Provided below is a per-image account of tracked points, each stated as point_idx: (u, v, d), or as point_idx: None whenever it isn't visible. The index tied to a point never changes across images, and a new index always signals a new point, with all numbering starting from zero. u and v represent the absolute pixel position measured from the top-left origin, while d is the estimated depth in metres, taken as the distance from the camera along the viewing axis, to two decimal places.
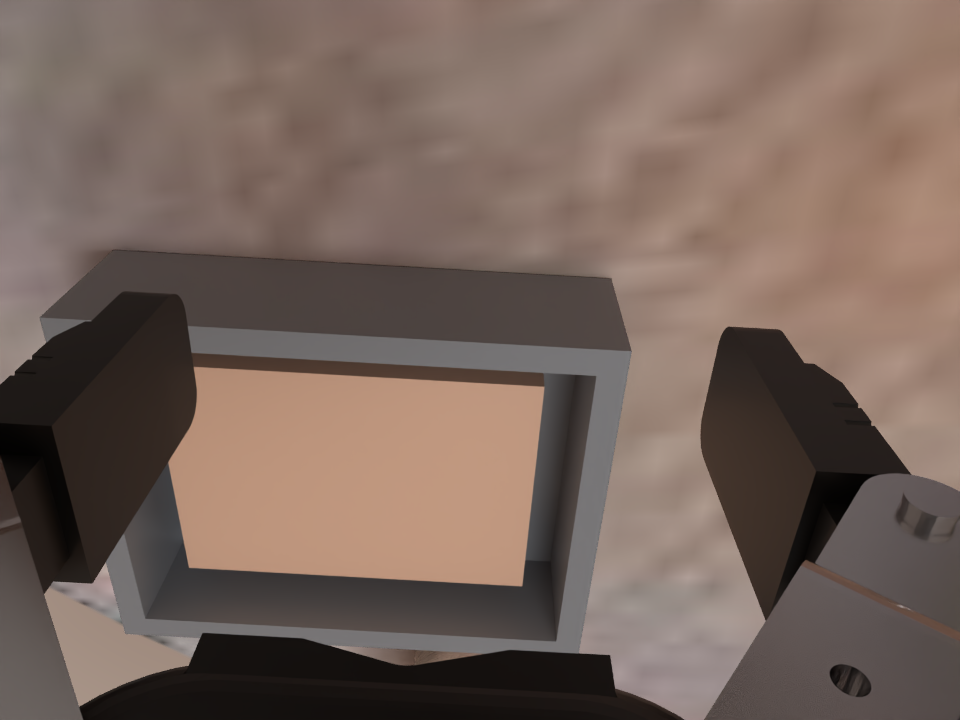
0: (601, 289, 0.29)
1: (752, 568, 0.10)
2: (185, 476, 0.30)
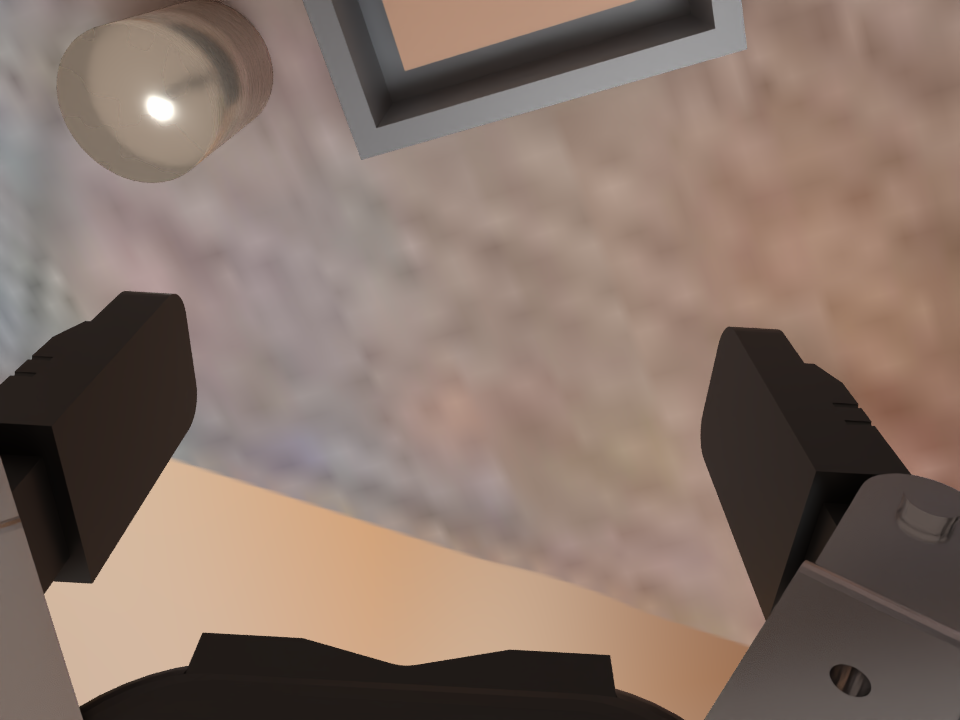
0: None
1: (752, 568, 0.10)
2: None
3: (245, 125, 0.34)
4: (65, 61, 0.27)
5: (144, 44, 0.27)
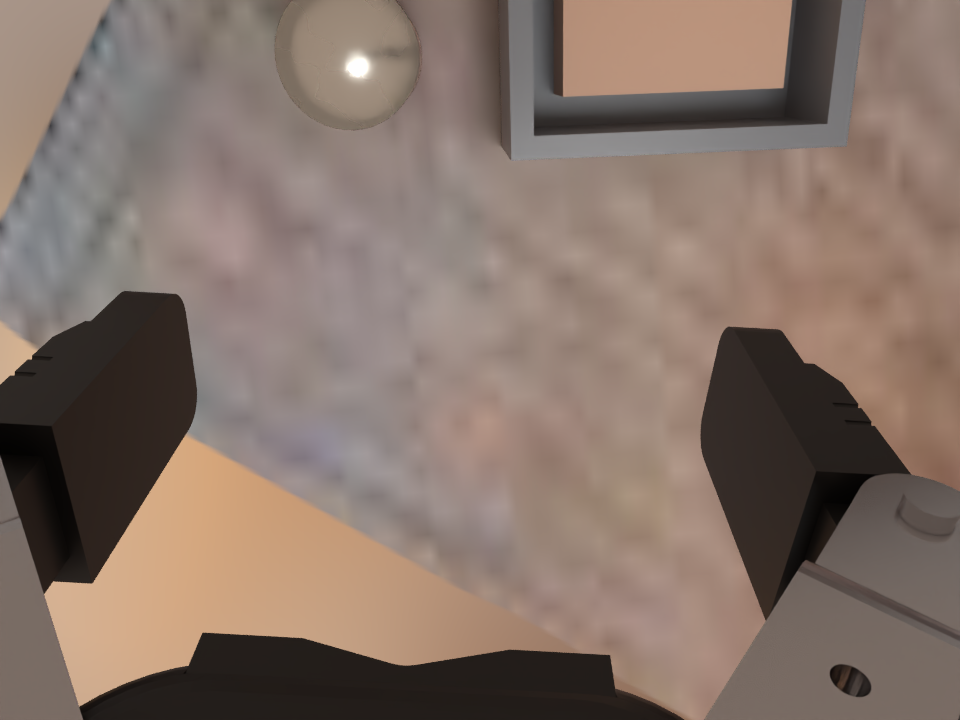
0: None
1: (752, 568, 0.10)
2: None
3: None
4: None
5: (378, 3, 0.29)
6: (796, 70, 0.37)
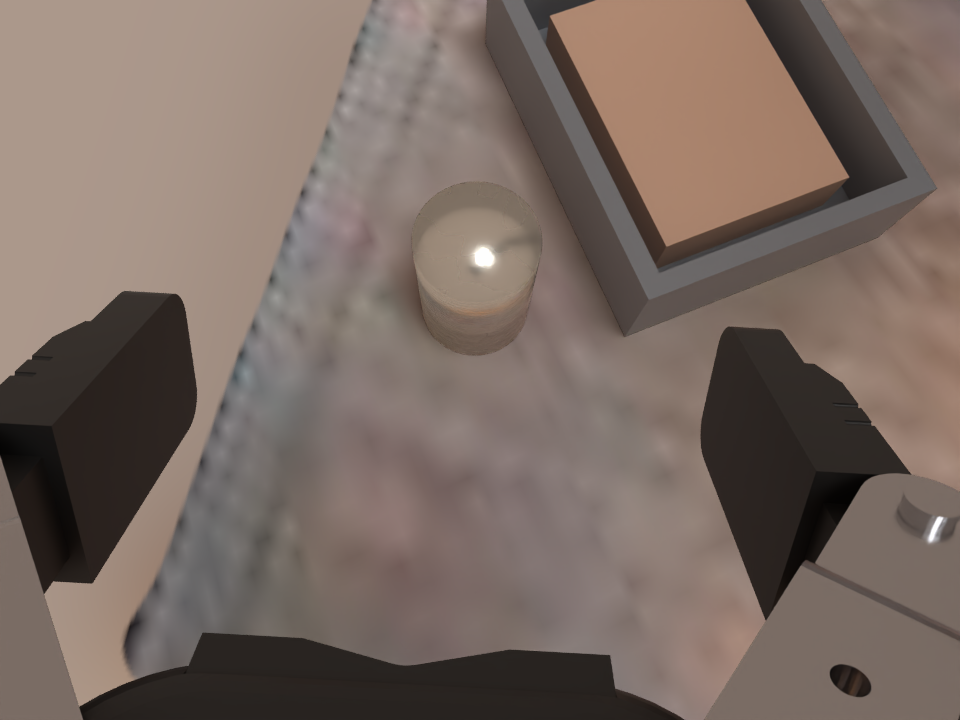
0: None
1: (752, 568, 0.10)
2: None
3: (516, 327, 0.38)
4: (423, 211, 0.33)
5: (490, 193, 0.33)
6: None
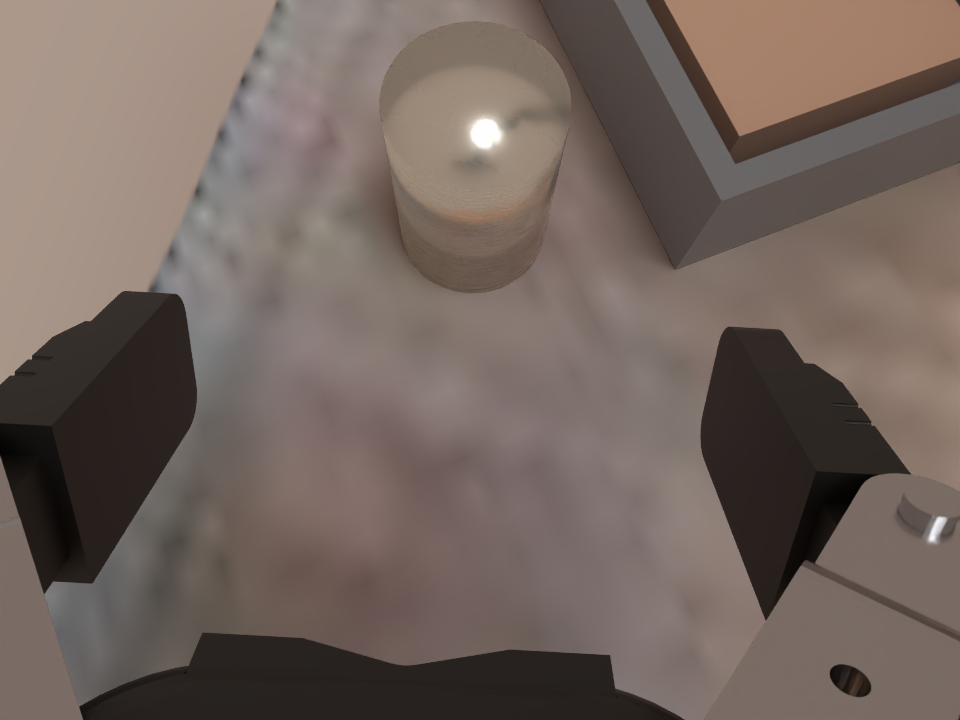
0: None
1: (752, 568, 0.10)
2: None
3: (529, 251, 0.28)
4: (397, 62, 0.23)
5: (496, 38, 0.23)
6: None
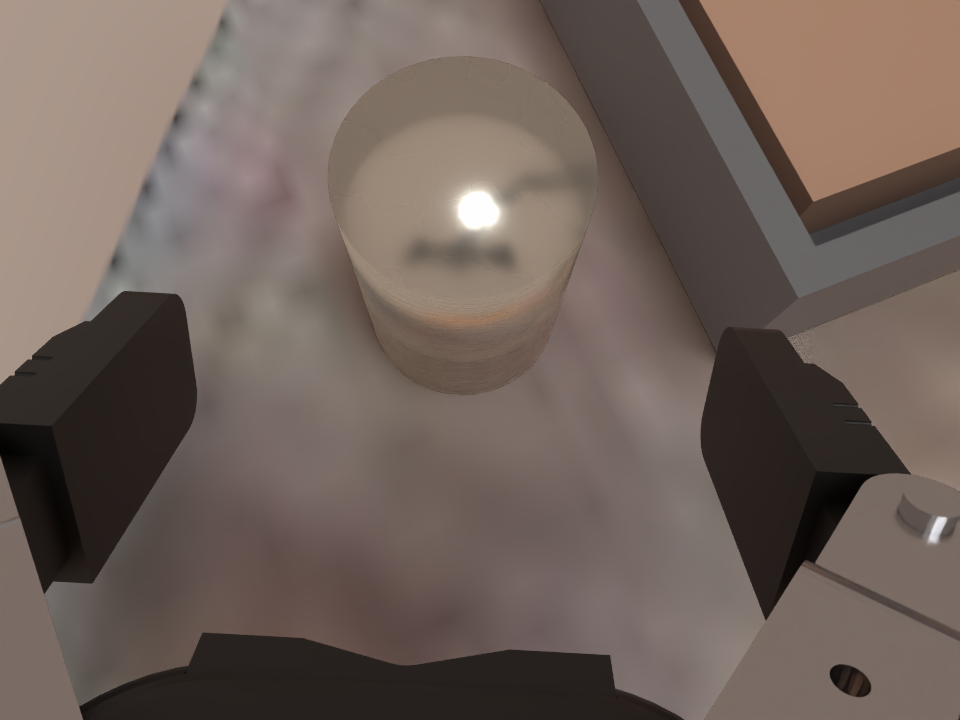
0: None
1: (752, 568, 0.10)
2: None
3: (536, 348, 0.21)
4: (354, 114, 0.16)
5: (492, 80, 0.16)
6: None
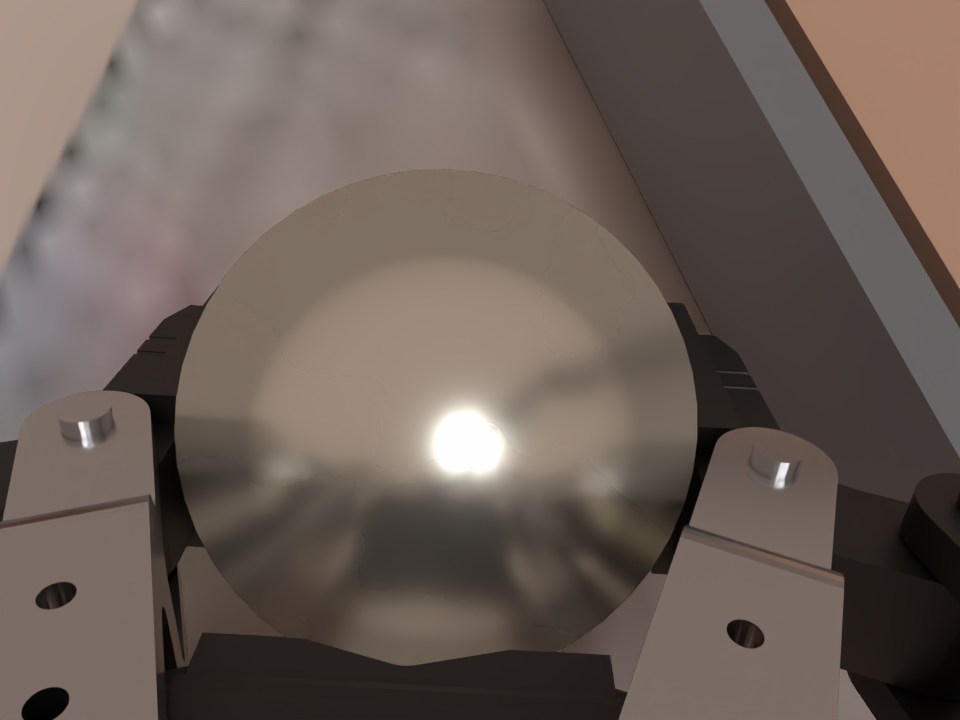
0: None
1: None
2: None
3: None
4: (232, 285, 0.09)
5: (493, 215, 0.09)
6: None
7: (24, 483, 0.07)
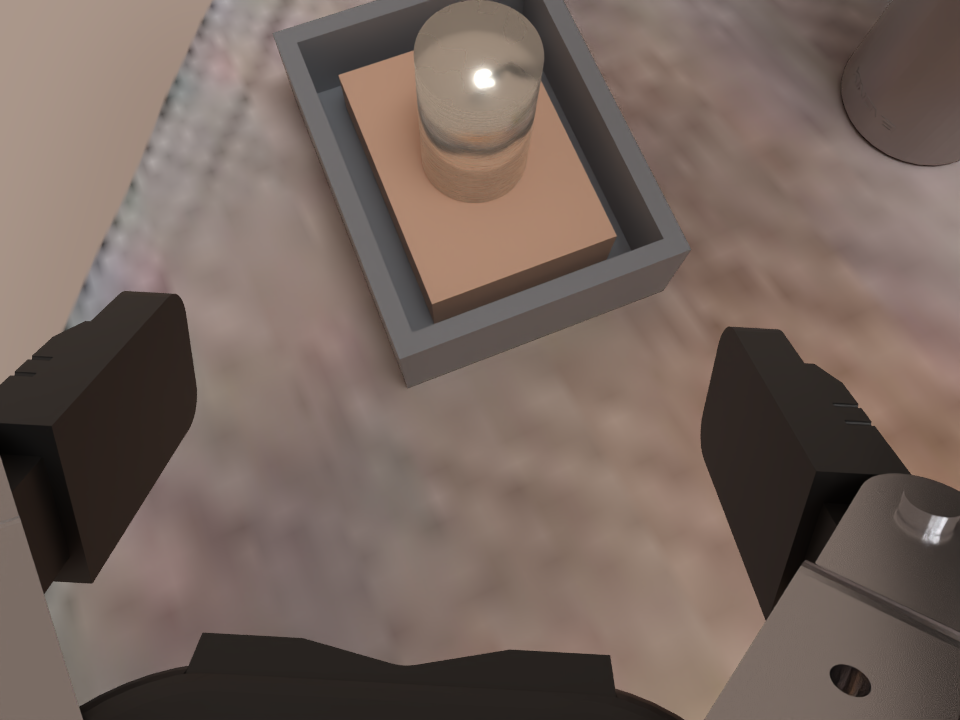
0: None
1: (752, 568, 0.10)
2: None
3: (517, 167, 0.38)
4: (424, 29, 0.33)
5: (490, 10, 0.33)
6: (629, 233, 0.42)
7: None
